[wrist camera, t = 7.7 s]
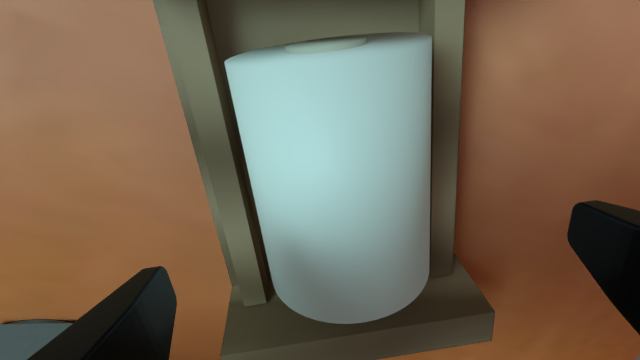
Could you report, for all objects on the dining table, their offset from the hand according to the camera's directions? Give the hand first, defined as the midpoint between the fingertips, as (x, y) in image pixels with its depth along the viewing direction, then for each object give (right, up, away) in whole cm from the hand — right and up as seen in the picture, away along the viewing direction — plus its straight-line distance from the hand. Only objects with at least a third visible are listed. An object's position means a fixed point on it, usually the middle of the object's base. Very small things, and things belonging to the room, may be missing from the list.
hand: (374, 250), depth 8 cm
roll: (-1, +3, +7) cm, 8 cm away
